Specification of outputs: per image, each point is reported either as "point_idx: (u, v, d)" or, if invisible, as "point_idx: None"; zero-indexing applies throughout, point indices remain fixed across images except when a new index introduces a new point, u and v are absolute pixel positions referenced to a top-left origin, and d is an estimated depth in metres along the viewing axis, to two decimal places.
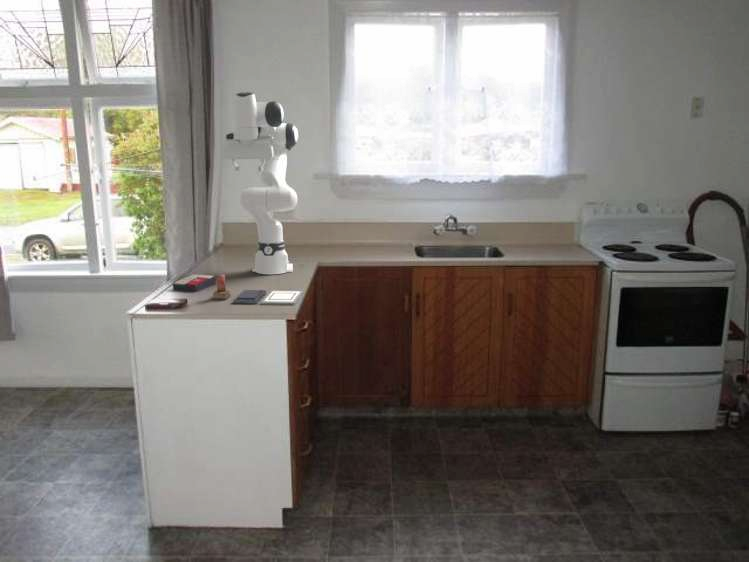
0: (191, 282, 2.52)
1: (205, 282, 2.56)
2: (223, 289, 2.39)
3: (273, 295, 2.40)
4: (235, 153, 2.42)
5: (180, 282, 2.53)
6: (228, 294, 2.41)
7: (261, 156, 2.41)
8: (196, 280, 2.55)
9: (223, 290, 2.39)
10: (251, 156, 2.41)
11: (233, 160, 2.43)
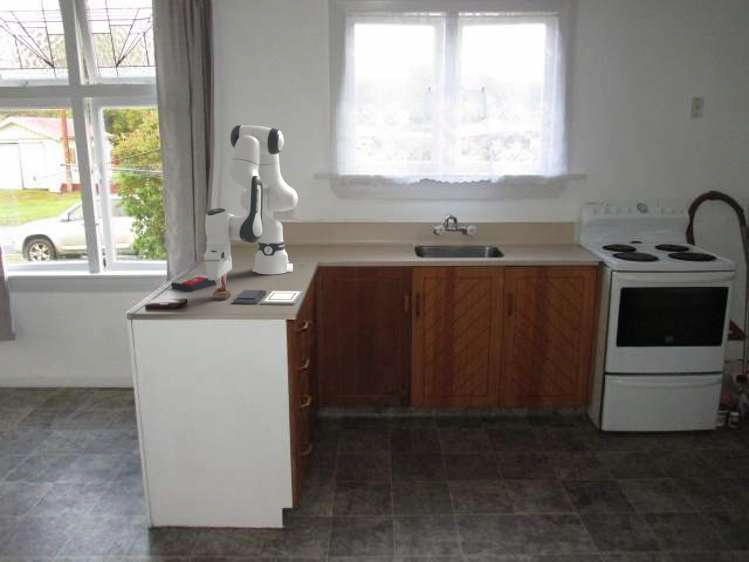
0: (188, 282, 2.53)
1: (203, 282, 2.56)
2: (223, 289, 2.39)
3: (273, 295, 2.40)
4: (220, 271, 2.33)
5: (178, 281, 2.54)
6: (228, 294, 2.41)
7: (229, 269, 2.44)
8: (194, 280, 2.56)
9: (223, 290, 2.39)
10: (226, 270, 2.40)
11: (220, 277, 2.35)
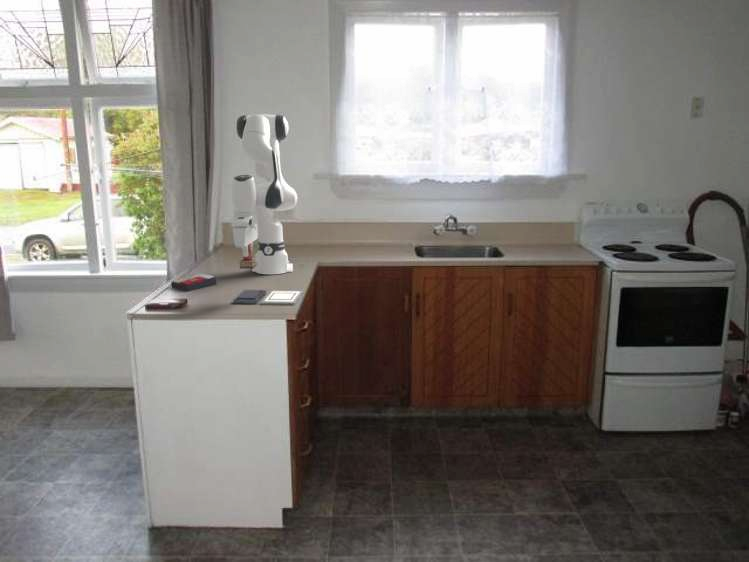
0: (186, 281, 2.54)
1: (201, 282, 2.56)
2: (250, 258, 2.34)
3: (273, 295, 2.40)
4: (248, 239, 2.29)
5: (177, 280, 2.56)
6: (255, 263, 2.36)
7: (255, 238, 2.39)
8: (193, 279, 2.56)
9: (250, 259, 2.34)
10: (252, 239, 2.35)
11: (247, 245, 2.31)
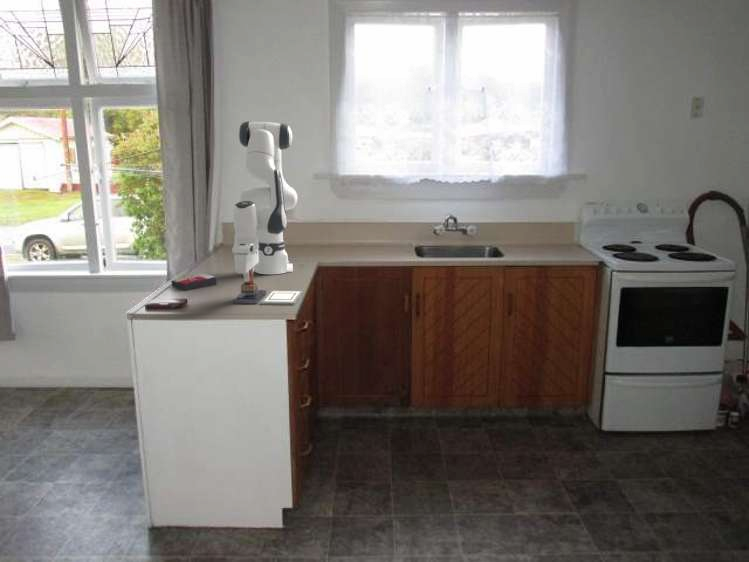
0: (185, 281, 2.55)
1: (200, 282, 2.56)
2: (251, 282, 2.37)
3: (273, 295, 2.40)
4: (249, 265, 2.31)
5: (177, 279, 2.57)
6: (256, 287, 2.38)
7: (256, 262, 2.42)
8: (192, 279, 2.57)
9: (251, 283, 2.37)
10: (253, 264, 2.38)
11: (248, 271, 2.33)
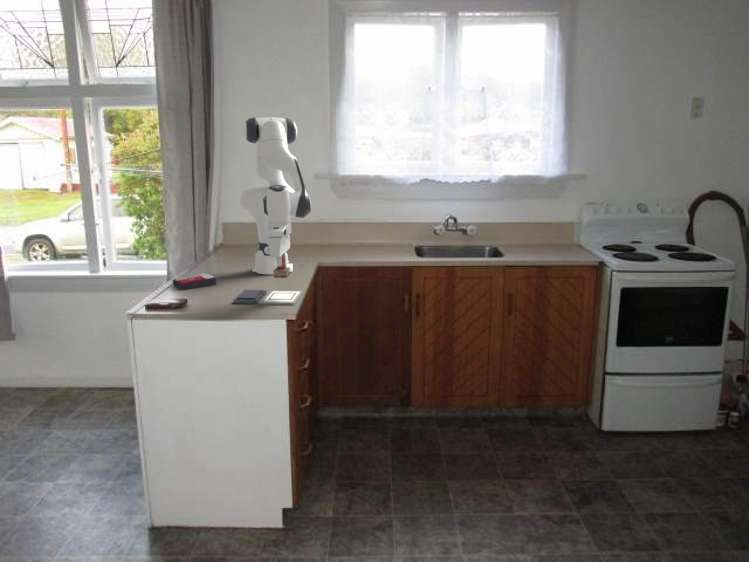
0: (184, 280, 2.56)
1: (198, 282, 2.56)
2: (284, 267, 2.35)
3: (273, 295, 2.40)
4: (282, 249, 2.29)
5: (178, 278, 2.59)
6: (288, 272, 2.37)
7: (288, 247, 2.40)
8: (191, 279, 2.57)
9: (283, 268, 2.35)
10: (286, 248, 2.36)
11: (281, 255, 2.31)
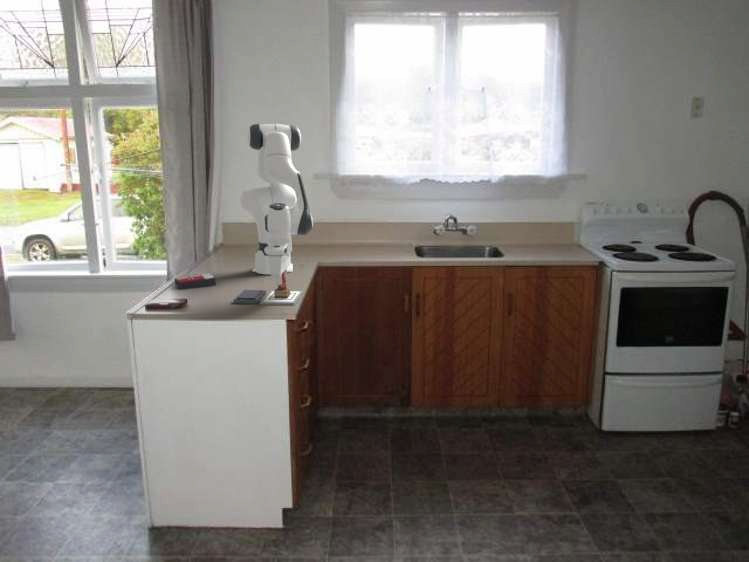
0: (183, 279, 2.57)
1: (197, 282, 2.56)
2: (285, 287, 2.37)
3: (273, 295, 2.40)
4: (283, 267, 2.31)
5: (179, 278, 2.61)
6: (289, 292, 2.39)
7: (289, 264, 2.42)
8: (191, 278, 2.58)
9: (284, 288, 2.37)
10: (286, 266, 2.38)
11: (281, 274, 2.32)
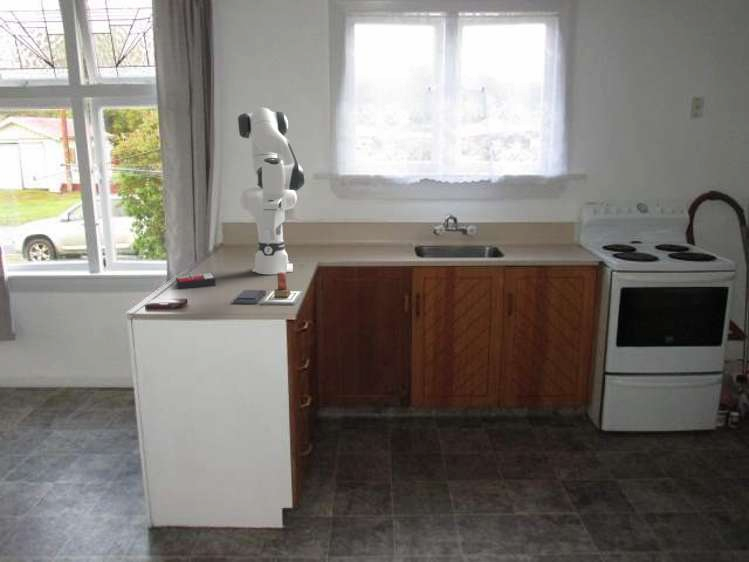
0: (183, 279, 2.58)
1: (196, 282, 2.57)
2: (285, 287, 2.37)
3: (273, 295, 2.40)
4: (277, 222, 2.32)
5: (180, 277, 2.62)
6: (289, 292, 2.39)
7: (283, 220, 2.42)
8: (191, 278, 2.59)
9: (284, 288, 2.37)
10: (280, 221, 2.38)
11: (274, 229, 2.32)
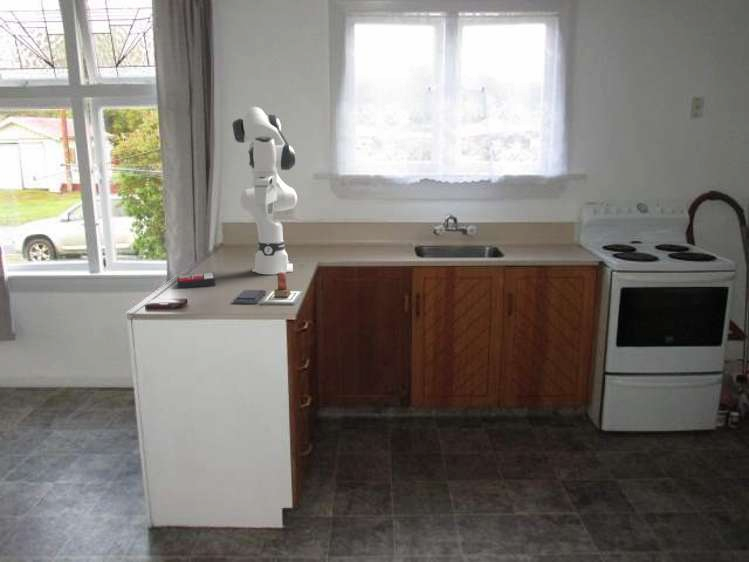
0: (183, 278, 2.59)
1: (195, 281, 2.57)
2: (285, 287, 2.37)
3: (273, 295, 2.40)
4: (268, 198, 2.37)
5: (181, 276, 2.63)
6: (289, 292, 2.39)
7: (275, 199, 2.47)
8: (191, 278, 2.59)
9: (284, 288, 2.37)
10: (272, 199, 2.43)
11: (266, 206, 2.36)
